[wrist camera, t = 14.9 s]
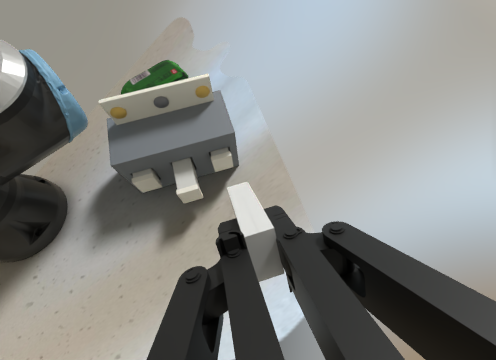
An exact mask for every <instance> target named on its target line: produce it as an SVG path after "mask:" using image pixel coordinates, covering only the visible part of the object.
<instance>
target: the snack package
mask: <svg viewBox="0 0 496 360" xmlns="http://www.w3.org/2000/svg"><path fill="white" fill-rule="evenodd" d="M184 79H188V75H187V74H186V73H185V72H184V71H183V70H182V69H181V68H180V67H179V65H178V64H176V63H174V62H172V61H169V60H165V61H162V62H160V63H158V64H156V65H155V66H153V67H151V68H150V69H148V70H146V71H144V72H142V73H140V74H139V75H137V76H135V77H134V78H132V79H130V80H129V81H128V82H127V83H126V84H125V85H124V86H123V88H122V91H121V95H122V94H126V93H130V92H134V91H139V90H143V89H147V88H151V87H155V86H159V85H163V84H167V83H171V82H176V81H180V80H184Z"/></svg>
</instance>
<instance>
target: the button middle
mask: <svg viewBox="0 0 496 360" xmlns="http://www.w3.org/2000/svg"><path fill="white" fill-rule="evenodd" d="M172 165H173V170H174V175H175V179H176V184H177V189H178V190H176V192H177V195H178V197H179V198H180V199H181V200H182V202H183V203H184V204H185V203H188V202H191V201H195V200H198V199H202V198H204V197H203V194H202V192H201V190H200V187H199V183H198V179H197V175H196V170H195V166H194V162H193V159H192V157H189V158H186V159H182V160H178V161H175V162H172Z"/></svg>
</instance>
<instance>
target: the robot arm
mask: <svg viewBox="0 0 496 360" xmlns="http://www.w3.org/2000/svg"><path fill="white" fill-rule="evenodd" d="M87 124H88V120H87V117H86V115H85V113H84V111H83V110H82V108H81V107H80V105H79V104H78V102H77V101H76V100H75V98H74V97H73V96H72V94H71V93H70V92H69V91H68V89H66V87H65V86H64V84H63V83H62V82H61V80H60V79H59V77H58V76H57V75H56V74H55V72H54V71H53V70H52V69H51V68H50V67H49V65H48V64H47V63H46V62H45V61H44V60H43V59H42V58H41V57H40V56H39V55H38V54H37V53H36V52H35V51H33V50H31V49H26V50H19V51H18V50H17V49H16V48H14V47H13V46H12V45H10V44H9V43H7V42H5V41H3V40H1V39H0V261H1V262H15V261H19V260H23V259H26V258H28V257H30V256H32V255H34V254H36V253H37V252H39V251H40V250H42V249H43V248H44V247H46V246H47V245H48V244H49V243H50V242H51V241H52V240H53V239H54V237H55V236H56V235H57V234H58V232H59V231H60V229H61V227H62V225H63V223H64V221H65V218H66V214H67V200H66V196H65V194H64V192H63V191H62V189H61V188H60V187H59V186H57V185H56V184H54V183H52V182H50V181H48V180H46V179H44V178H41V177H37V176H31V175H25V174H21V173H23V172H24V171H26V170H27V169H29V168H30V167H32V166H33V165H35V164H36V163H38V162H40V161H41V160H43V159H44V158H46V157H47V156H49V155H50V154H52V153H53V152H55V151H57V150H58V149H60V148H61V147H63V146H64V145H66V144H67V143H70V142H71V141H72V140H73V138H75V137H76V136H77V135H78V134H80V133H81V132H82V131H84V130H85V129H86V127H87ZM227 189H228V193H229V196H230V200H231V203H232V207H233V210H234V214H235V217H236V218H235V219H232V220H229V221H226V222H222V223H220V225H219V227H218V233H219V237H218V238H217V239H216V245H217V248H218V251H219V254H220V257H221V259H220V260H219V262H218V263H217V264H216V265H214V266H213V267H211V268H209V269H208V270H207V269H206V268H205V267H202V266H196V267H193V268H190V269H188V270H187V271H185V272H184V273H183V274H182V275H181V276H180V278H179V280H178V282H177V285H176V287H175V290H174V292H173V295H172V297H171V300H170V302H169V305H168V307H167V310H166V312H165V315H164V317H163V320H162V322H161V325H160V327H159V330H158V332H157V335H156V337H155V340H154V342H153V345H152V347H151V350H150V352H149V355H148V357H147V360H217V359H218V352H219V345H220V338H221V332H222V325H223V313H225V312H226V311H229V318H230V325H231V331H232V338H233V345H234V352H235V358H236V360H284V357H283V354H282V351H281V348H280V345H279V342H278V339H277V336H276V333H275V330H274V327H273V324H272V321H271V318H270V315H269V312H268V309H267V306H266V303H265V300H264V297H263V294H262V291H261V288H260V285H259V282H260V281H263V280H266V279H269V278H272V277H275V276H278V275H281V274H284V270H285V272H286V276H287V280H288V284H289V289H290V292H292V291H293V293H294V295H295V297H296V299H297V301H298V303H299V305H300V307H301V309H302V311H303V314H304V316H305V318H306V320H307V322H308V324H309V326H310V328H311V330H312V332H313V334H314V336H315V338H316V341H317V343H318V345H319V347H320V349H321V351H322V353H323V355H324V357H325V359H326V360H404V358H403V357H402V355H401V354H400V353H399V351H398V350H397V349H396V348H395V346H394V345H393V344H392V342H391V341H390V340H389V339H388V337H387V336H386V335H385V334H384V332H383V331H382V330H381V328H380V327H379V326H378V325H377V323H376V322H375V321H374V319H373V318H372V317H371V316H370V314H369V313H368V312H367V310H368V311H369V312H370V313H371V314H372V315H374V316H375V317H376V318H377V319H378V320H380V321H381V322H382V323H383V324H384V325H386V326H387V327H388V328H389V329H390V330H391V331H392V332H394V333H395V334H396V335H397V336H398V337H400V338H401V339H402V340H403V341H404V342H405V343H407V344H408V345H409V346H410V347H411V348H413V349H414V350H415V351H416V352H417V353H419V354H420V355H421V356H422V357H423V358H424V359H426V360H496V301H494V300H492V299H490V298H488V297H486V296H484V295H482V294H480V293H478V292H476V291H475V290H473V289H471V288H469V287H467V286H465V285H463V284H461V283H459V282H458V281H456V280H454V279H452V278H450V277H448V276H446V275H444V274H442V273H440V272H438V271H437V270H435V269H433V268H431V267H429V266H427V265H425V264H423V263H421V262H419V261H417V260H416V259H414V258H412V257H410V256H408V255H406V254H404V253H402V252H400V251H398V250H396V249H395V248H393V247H391V246H389V245H387V244H385V243H383V242H381V241H379V240H377V239H376V238H374V237H372V236H370V235H368V234H366V233H364V232H362V231H360V230H359V229H357V228H355V227H353V226H351V225H349V224H347V223H344V222H330V223H328V224H326V225H324V226H323V228H322V232H321V233H306V232H305V231H304V230H303V229H302V228H299V227H296V226H295V225H294V223H293V222H292V221H291V219H290V218H289V217H288V215H287V214H286V213H285V211H284V210H283V209H282V208H281V207H279V206H273V207H269V208H266V209H263V208H262V206H261V204H260V202H259V201H258V199H257V197H256V196H255V194H254V192H253V190H252V189H251V187H250V185H249V183H248V182H244V183H241V184H237V185H234V186H230V187H227ZM283 268H284V269H283ZM366 309H367V310H366Z"/></svg>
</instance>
